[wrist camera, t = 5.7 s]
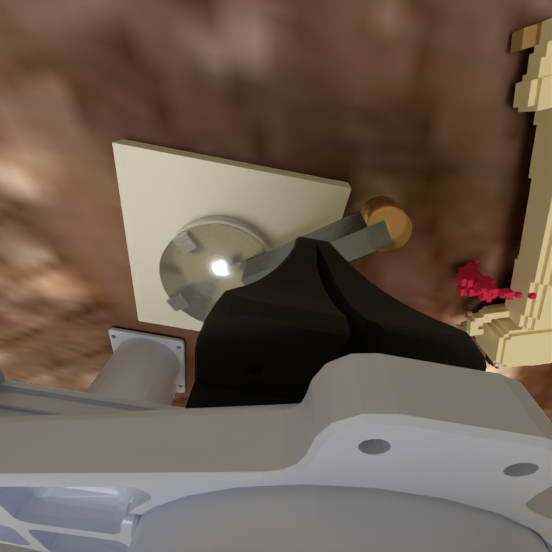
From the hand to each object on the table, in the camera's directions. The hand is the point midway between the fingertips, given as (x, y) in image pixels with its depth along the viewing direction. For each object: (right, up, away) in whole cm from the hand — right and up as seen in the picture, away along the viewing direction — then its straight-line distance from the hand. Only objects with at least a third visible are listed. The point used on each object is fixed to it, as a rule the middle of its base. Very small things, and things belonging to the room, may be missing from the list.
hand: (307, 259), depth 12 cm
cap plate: (-5, +1, +12) cm, 13 cm away
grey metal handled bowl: (-2, +1, +9) cm, 10 cm away
